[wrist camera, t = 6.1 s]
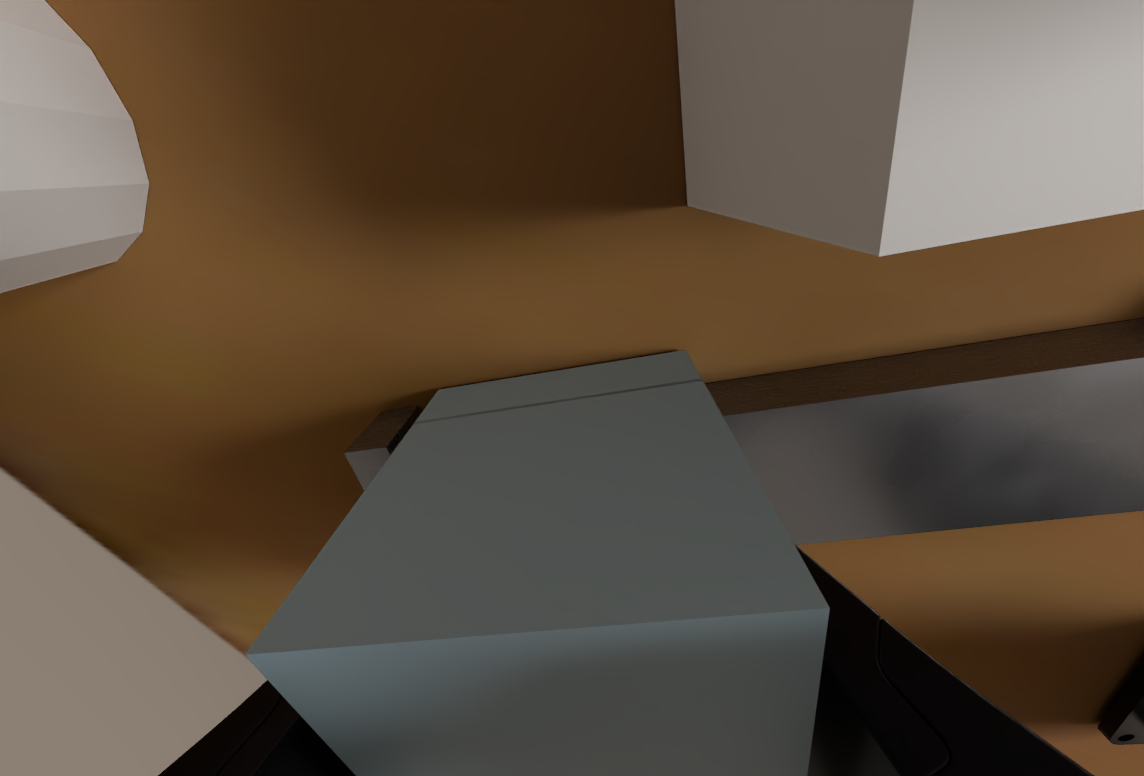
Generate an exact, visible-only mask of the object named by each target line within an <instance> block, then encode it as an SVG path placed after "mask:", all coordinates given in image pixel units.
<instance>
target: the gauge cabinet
mask: <svg viewBox="0 0 1144 776" xmlns="http://www.w3.org/2000/svg"><path fill="white" fill-rule="evenodd" d="M675 12H676V29H677V45H678V61H679V77H680V93H681V109H682V125H683V141H684V157H685V173H686V190H687V206H689V207H693V208H696V209H700V210H704V211H708V212H712V213H715V214H719V215H723V216H727V217H731V218H734V219H738V220H742V221H746V222H750V223H753V224H757V225H761V226H765V227H768V228H772V229H776V230H780V231H784V232H787V233H791V234H795V235H799V236H803V237H806V238H810V239H814V240H818V241H822V242H825V243H829V244H833V245H837V246H840V247H844V248H848V249H852V250H856V251H859V252H863V253H867V254H871V255H875V256H878V257H880V256H885V255H891V254H897V253H902V252H908V251H913V250H919V249H925V248H930V247H936V246H941V245H947V244H953V243H958V242H964V241H969V240H975V239H981V238H986V237H992V236H998V235H1003V234H1009V233H1014V232H1020V231H1026V230H1031V229H1037V228H1042V227H1048V226H1054V225H1059V224H1065V223H1070V222H1076V221H1082V220H1087V219H1093V218H1098V217H1104V216H1110V215H1115V214H1121V213H1126V212H1132V211H1138V210H1143V209H1144V0H675Z"/></svg>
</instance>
